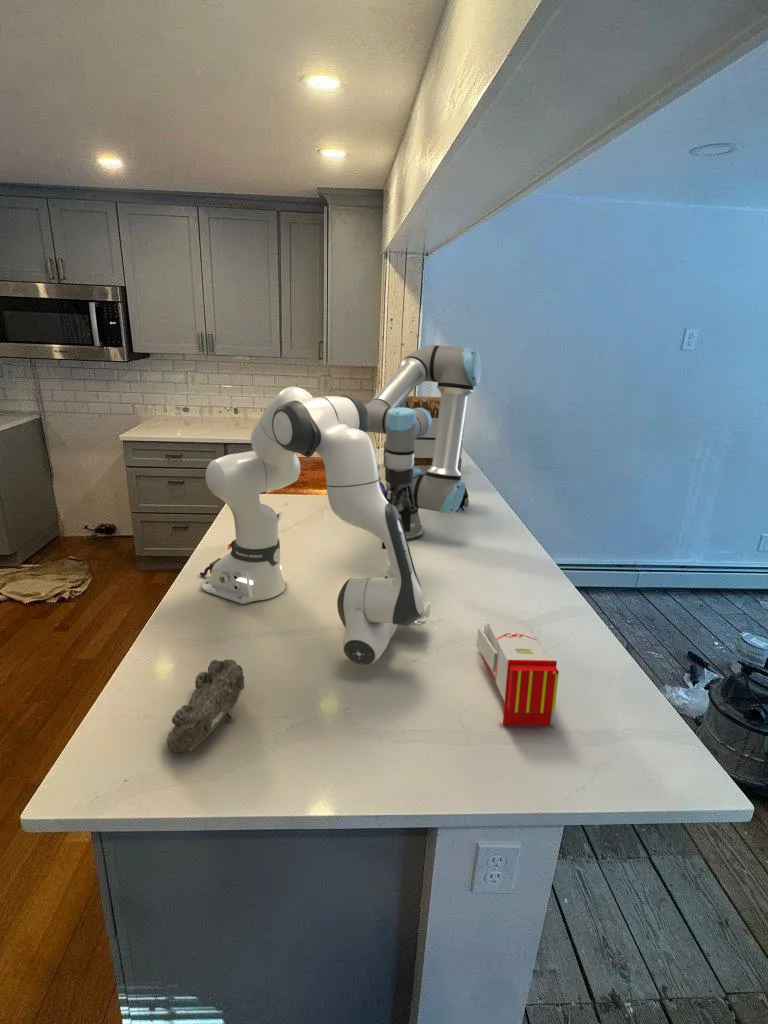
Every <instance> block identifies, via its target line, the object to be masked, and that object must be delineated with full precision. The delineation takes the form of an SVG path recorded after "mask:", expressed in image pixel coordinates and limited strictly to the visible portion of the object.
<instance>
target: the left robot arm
mask: <svg viewBox="0 0 768 1024" xmlns="http://www.w3.org/2000/svg"><path fill="white" fill-rule="evenodd" d="M364 404H365V403H364V402H363V401H362V400H360V399H359V398H358V397H356V396H355V397H354V396H351V395H346V394H345V395H338V396H336V395H325V396H324V395H323V396H316V397H313V395H312V394H311V393H310V392H309V391H308V390H306V389H304V388H302V387H298V386H289V387H285V388H283V389H282V390H281V391H280V392H279V393H278V394H276V395H275V397H274V398H273V399H272V400H271V401H270V403H269V404H268V406H267V407H266V408H265V410H264V412H262V415H261V416H260V417H259V419H258V421H257V423H256V425H255V427H254V428H253V430H252V432H251V435H250V444H251V448H252V450H250V451H244V452H237V453H231V454H226V455H223V456H221V457H218V458H215V459H214V460H211V461H210V462H209V464H208V465H207V467H206V470H205V484H206V486H207V488H208V490H209V491H210V492H211V494H212V495H214V496H215V497H216V498H218V499H220V500H221V501H223V502H224V503H225V504H226V505H227V507H228V508H229V509H230V511H231V513H232V517H233V521H234V531H235V539H233V540H232V541H230V543H229V544H228V545H227V550H230V549H231V551H230V552H229V553H228V554H226V555H225V556H223V557H218V558H217V559H214V561H212V562H210V563H209V564H208V566H207V567H205V569H204V571H203V572H202V571H201V572H200V573H199V576H202V577H205V576H207V574H208V572H209V576H208V577H207V578H206V579H205V580H204V581H203V583H202V586H201V587H202V588H201V589H202V591H203V592H206V593H208V594H212V595H215V596H217V597H221V598H223V599H226V600H229V601H232V602H234V603H238V604H241V605H246V604H250V603H253V602H257V601H264V600H265V601H266V600H270V599H273V598H275V597H277V596H279V595H281V594H282V593H283V592H284V591H285V590H286V584H285V582H284V579H283V574H282V568H283V566H282V565H281V564H280V563H281V562H280V560H281V543H280V539H279V522H278V520H279V519H278V517H279V516H278V517H277V515H278V514H277V512H276V511H275V510H274V509H273V508H272V507H270V506H269V505H266V504H264V503H261V500H260V494H262V493H266V492H271V491H276V490H280V489H281V490H282V489H284V488H285V487H287V486H290V485H292V484H294V483H295V482H297V481H298V480H299V477H300V475H301V462H300V459H299V457H298V455H297V454H299V455H302V456H303V457H306V458H310V457H312V456H313V455H314V454H315V453H316V454H317V455H319V456H320V458H321V460H322V461H323V464H324V473H325V484H326V495H327V499H328V503H329V507H330V509H331V511H332V513H333V514H334V515H335V516H336V517H337V518H338V519H340V520H341V521H343V522H344V523H346V524H347V525H350V526H352V527H356V528H358V529H361V530H363V531H365V532H368V533H370V534H372V535H374V536H376V538H378V539H379V540H380V541H381V543H382V542H383V543H384V545H385V547H386V549H385V550H386V554H387V557H388V560H389V566H390V565H391V569H392V572H393V576H394V578H384V577H371V576H370V577H366V576H364V577H363V576H360V577H359V576H357V577H350V578H349V579H347V580H346V581H345V582H344V583H343V586H341V589H340V590H339V592H338V595H337V602H336V607H337V613H338V617H339V619H340V621H341V623H342V625H343V627H344V628H345V635H344V639H343V644H342V650H343V653H344V655H345V657H346V658H347V659H348V660H349V661H350V662H352V663H354V664H357V665H362V666H365V665H366V666H369V665H371V664H374V663H375V662H376V661H378V659H379V658H380V657H381V656H382V654H383V653H384V652H385V650H386V649H387V647H388V645H389V643H390V641H391V638H392V637H393V635H394V634H395V632H396V630H397V629H398V627H399V626H405V627H409V626H413V627H420V626H422V625H425V624H426V623H427V620H428V618H429V617H430V614H431V605H432V604H431V602H430V601H429V600H427V599H425V596H424V592H423V588H422V585H421V583H420V580H419V578H418V574H417V572H416V569H415V565H414V561H413V558H412V557H413V556H412V554H411V550H410V546H409V543H408V540H407V538H406V534H405V531H404V527H403V524H402V521H401V518H400V515H399V513H398V511H397V509H396V507H395V506H393V505H391V504H390V503H389V502H388V501H387V500H386V498H385V497H384V495H383V493H382V491H381V488H380V484H379V475H380V474H379V475H378V473H379V472H378V468H377V465H378V464H377V463H378V462H377V458H376V453H375V450H374V446H373V443H372V439H371V437H370V436H369V434H368V432H367V430H368V426H369V415H368V411H367V409H366V407H365V405H364Z"/></svg>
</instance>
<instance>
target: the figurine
mask: <svg viewBox="0 0 768 1024" xmlns="http://www.w3.org/2000/svg"><path fill="white" fill-rule="evenodd" d="M377 468H378V475H379V484H380V488H381V491H382V493H383V495H384V496H385V491H386V486H385V485H384V484H383V482H382V481H381V480H382V479H381V475H380V473H379V471H380V469H381V465H380V464H379V463H378V464H377Z"/></svg>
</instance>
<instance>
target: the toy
mask: <svg viewBox="0 0 768 1024" xmlns="http://www.w3.org/2000/svg"><path fill="white" fill-rule="evenodd" d="M483 626H484V627H483V629H482V628H481V627H478V629H477V638H476V647H477V649H478V650H479V652H480V655H481V656H482V658H483V661H484V662H485V664H486V666H487V668H488V670H489V672H490V674H491V676H492V677H493V679H494V681H495V684H496V686H497V688H498V692H499V693H500V694H501V697H502V699H503V702H504V703H503V705H504V706H503V716H502V726H522V727H523V726H527V727H528V726H532V727H533V726H534V727H551V722H552V714H555V711H556V703H557V702H556V700H557V694H558V692H557V691H558V683H559V682H558V681H559V674H560V673H559V672H560V671H559V669H558V668H557V665H558V661H557V660H552V659H551V657H550V656H549V654H548V653H547V651H546V650H545V649H544V647H543V646H542V644H541V643H540V642H539V640H538V639H537V637H536V635H535V634H534V633H533V630H532V628H531V627H530V626H528V624H527V623H526V622H511V621H510V622H507V621H505V622H504V621H503V622H501V621H497V622H496V621H495V622H494V621H487V623H486V624H484V625H483Z"/></svg>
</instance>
